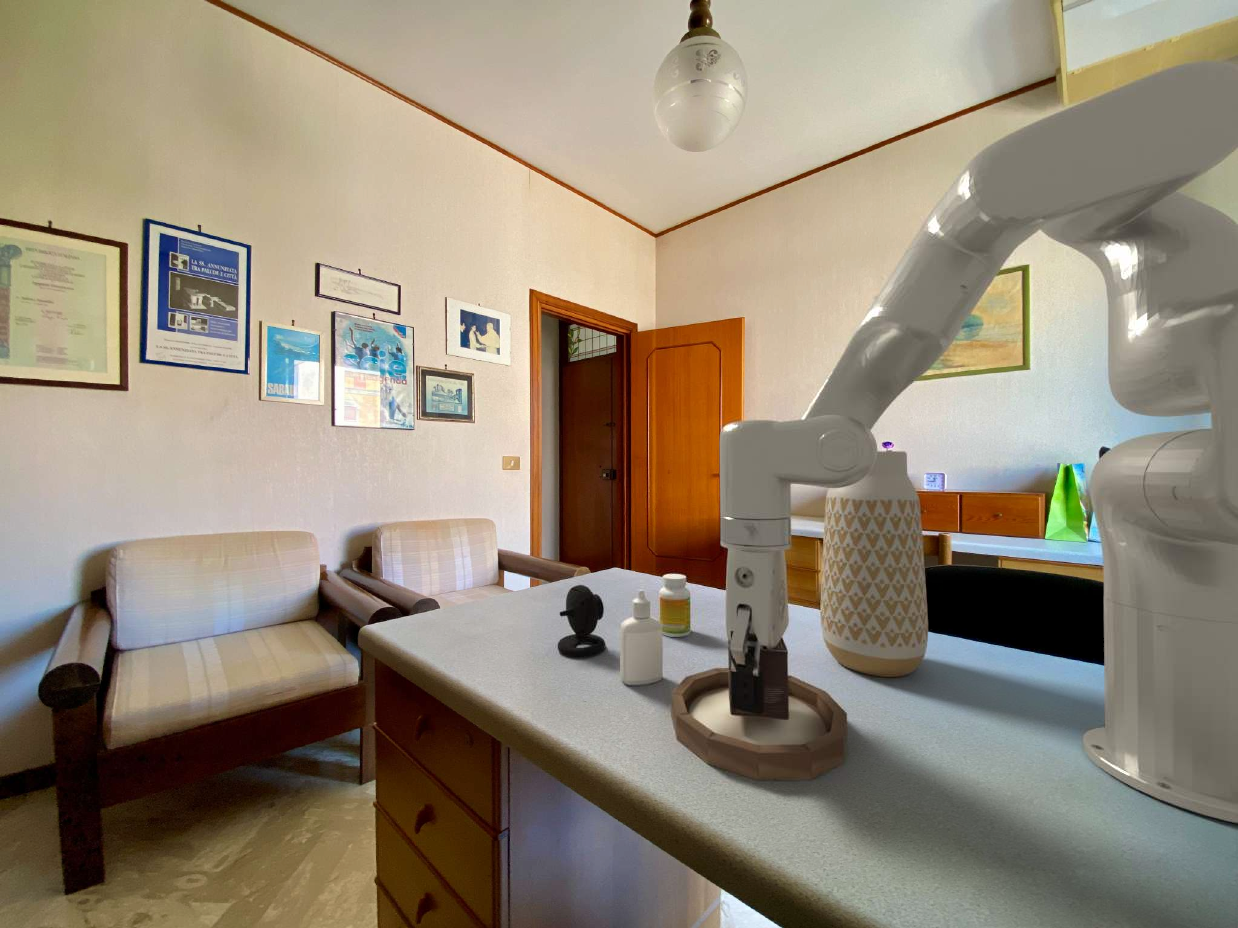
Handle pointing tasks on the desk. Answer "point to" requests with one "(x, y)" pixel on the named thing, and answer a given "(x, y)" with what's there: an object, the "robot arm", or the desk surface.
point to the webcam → (582, 623)
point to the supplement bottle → (674, 606)
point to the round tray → (759, 730)
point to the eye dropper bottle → (641, 645)
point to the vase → (875, 572)
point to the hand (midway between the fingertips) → (756, 692)
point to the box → (768, 682)
